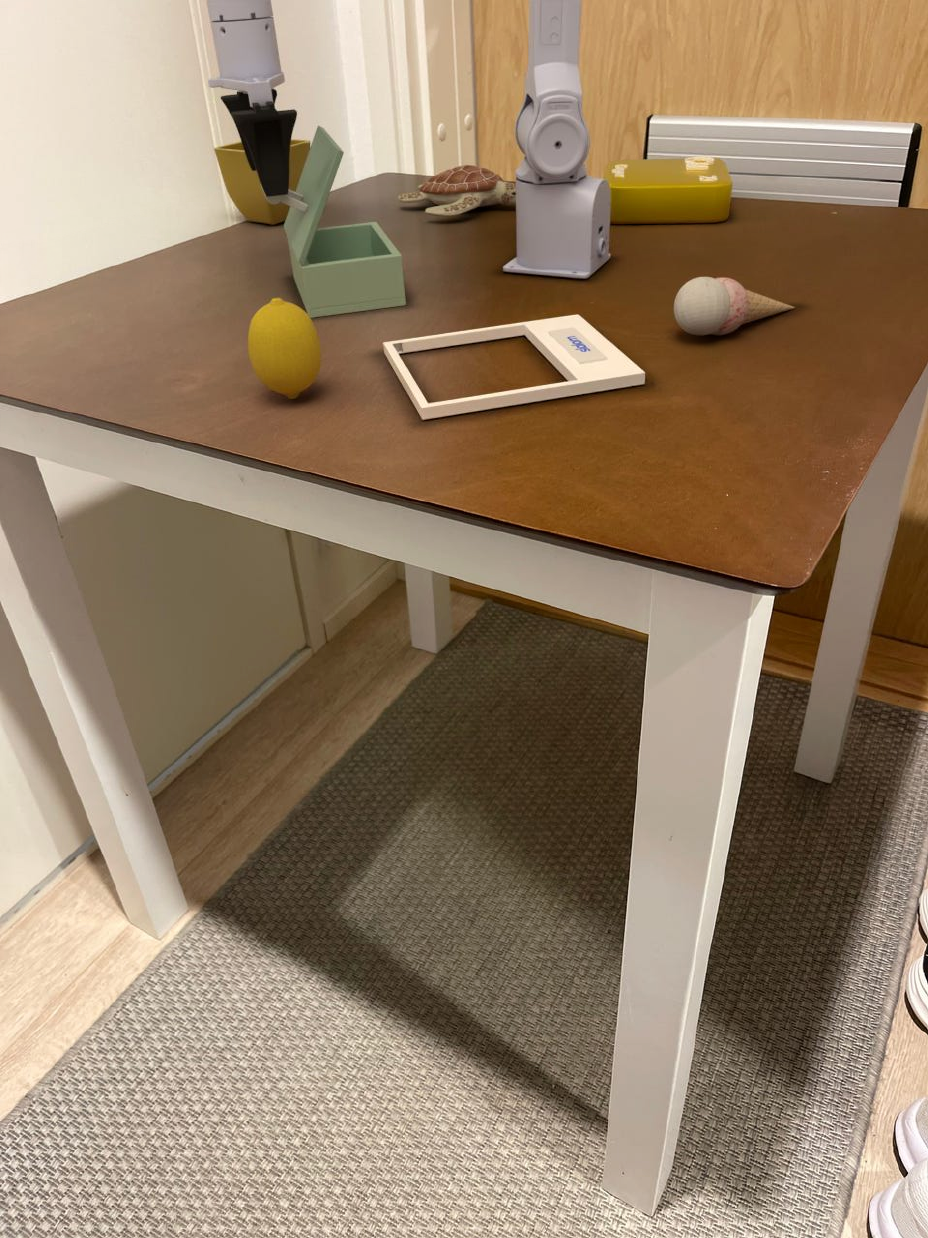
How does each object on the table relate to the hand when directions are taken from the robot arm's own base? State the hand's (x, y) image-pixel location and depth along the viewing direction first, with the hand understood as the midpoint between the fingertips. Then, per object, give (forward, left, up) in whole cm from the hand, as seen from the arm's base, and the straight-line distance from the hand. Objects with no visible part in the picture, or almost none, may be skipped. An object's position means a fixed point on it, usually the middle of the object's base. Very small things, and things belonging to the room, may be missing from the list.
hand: (268, 180), depth 93 cm
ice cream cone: (-48, -1, -10) cm, 49 cm away
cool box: (-8, 0, -10) cm, 13 cm away
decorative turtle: (-5, -35, -10) cm, 37 cm away
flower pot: (+17, -23, -10) cm, 31 cm away
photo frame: (-32, +14, -10) cm, 36 cm away
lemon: (-18, +25, -10) cm, 32 cm away
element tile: (-30, -40, -10) cm, 51 cm away
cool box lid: (-6, +1, -1) cm, 6 cm away
